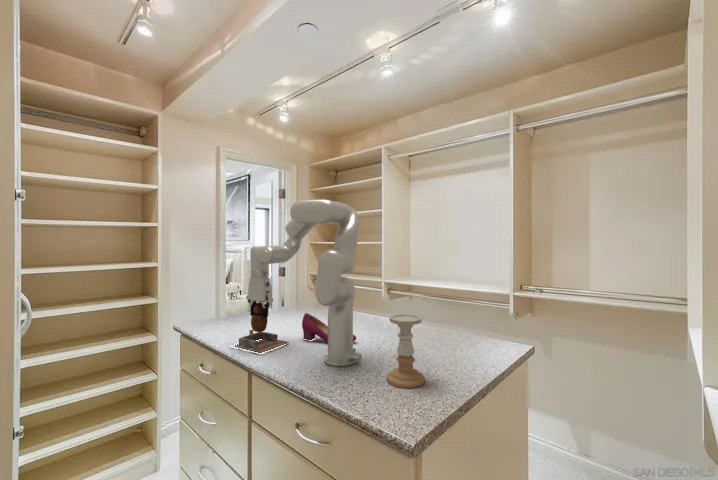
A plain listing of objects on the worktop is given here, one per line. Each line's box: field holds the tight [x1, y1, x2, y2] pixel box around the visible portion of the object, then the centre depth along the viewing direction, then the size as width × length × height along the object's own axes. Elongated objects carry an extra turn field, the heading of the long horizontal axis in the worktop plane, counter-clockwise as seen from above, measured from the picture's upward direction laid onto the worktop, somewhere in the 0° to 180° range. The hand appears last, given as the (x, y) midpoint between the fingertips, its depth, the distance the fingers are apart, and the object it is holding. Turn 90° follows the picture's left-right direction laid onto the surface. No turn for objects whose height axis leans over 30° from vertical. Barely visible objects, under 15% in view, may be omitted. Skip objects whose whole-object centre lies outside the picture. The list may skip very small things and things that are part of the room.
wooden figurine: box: [250, 301, 268, 333], centre depth 140 cm, size 7×6×15 cm
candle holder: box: [386, 314, 426, 389], centre depth 105 cm, size 12×12×20 cm
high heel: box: [301, 312, 357, 344], centre depth 146 cm, size 9×26×12 cm, turn 81°
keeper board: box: [235, 329, 290, 353], centre depth 140 cm, size 19×16×6 cm
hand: (259, 315), depth 140 cm, fingers closed on wooden figurine, 6 cm apart
